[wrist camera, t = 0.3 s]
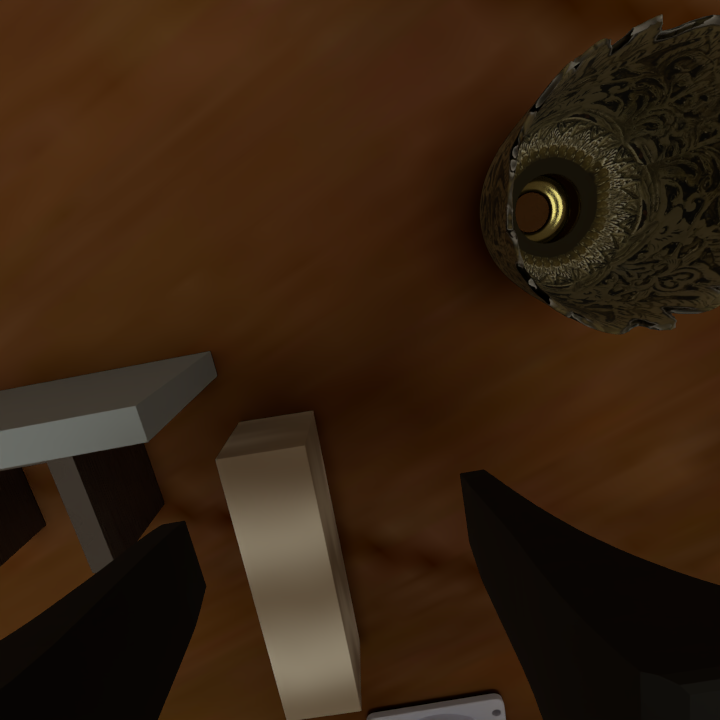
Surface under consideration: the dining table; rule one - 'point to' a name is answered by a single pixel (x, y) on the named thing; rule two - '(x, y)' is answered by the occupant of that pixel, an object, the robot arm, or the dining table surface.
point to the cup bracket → (86, 502)
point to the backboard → (97, 409)
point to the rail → (294, 562)
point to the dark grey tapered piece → (618, 182)
